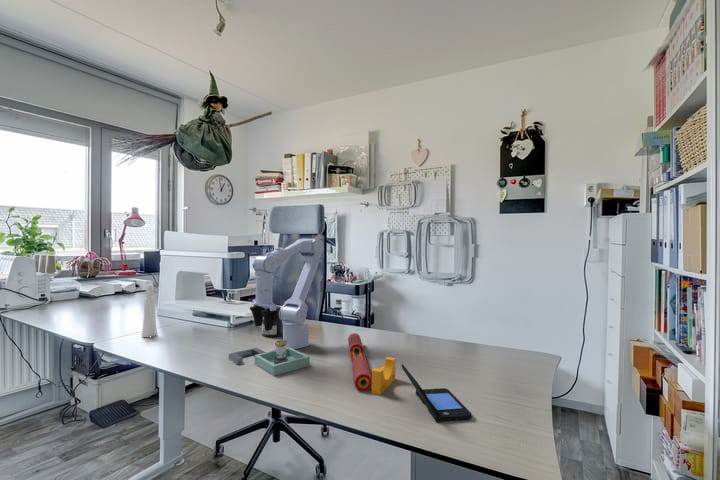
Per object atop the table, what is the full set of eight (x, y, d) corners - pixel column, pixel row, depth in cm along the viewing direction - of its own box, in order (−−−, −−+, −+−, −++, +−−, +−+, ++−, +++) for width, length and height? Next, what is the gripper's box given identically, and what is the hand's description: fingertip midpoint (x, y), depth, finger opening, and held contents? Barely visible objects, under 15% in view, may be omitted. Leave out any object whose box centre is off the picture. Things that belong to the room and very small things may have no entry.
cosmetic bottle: (158, 333, 152) (158, 283, 152) (156, 336, 146) (157, 285, 146) (142, 334, 149) (142, 283, 149) (139, 338, 144) (140, 285, 144)
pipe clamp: (381, 376, 107) (382, 356, 107) (395, 379, 105) (395, 358, 105) (365, 392, 96) (366, 369, 96) (380, 395, 94) (380, 371, 94)
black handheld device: (474, 421, 81) (474, 383, 81) (418, 425, 79) (418, 386, 79) (447, 392, 97) (447, 360, 97) (399, 395, 94) (400, 362, 94)
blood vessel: (372, 391, 97) (372, 373, 97) (354, 392, 96) (354, 374, 96) (360, 345, 139) (360, 332, 139) (347, 345, 138) (348, 333, 138)
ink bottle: (257, 335, 151) (257, 307, 151) (272, 330, 158) (273, 304, 158) (272, 338, 145) (272, 310, 145) (287, 334, 152) (288, 307, 152)
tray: (289, 355, 125) (289, 347, 125) (309, 365, 115) (309, 356, 115) (254, 364, 116) (254, 355, 116) (273, 376, 106) (273, 366, 106)
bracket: (256, 352, 128) (256, 347, 128) (265, 357, 122) (265, 352, 122) (228, 358, 121) (228, 353, 121) (236, 364, 115) (237, 359, 115)
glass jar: (275, 360, 117) (276, 340, 117) (288, 360, 117) (288, 340, 117) (272, 365, 113) (272, 343, 113) (286, 365, 113) (286, 344, 113)
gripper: (244, 288, 125) (243, 325, 125) (263, 293, 115) (262, 334, 115) (262, 286, 130) (262, 323, 130) (282, 291, 119) (281, 330, 119)
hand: (263, 328), depth 123 cm, fingers open, 7 cm apart
